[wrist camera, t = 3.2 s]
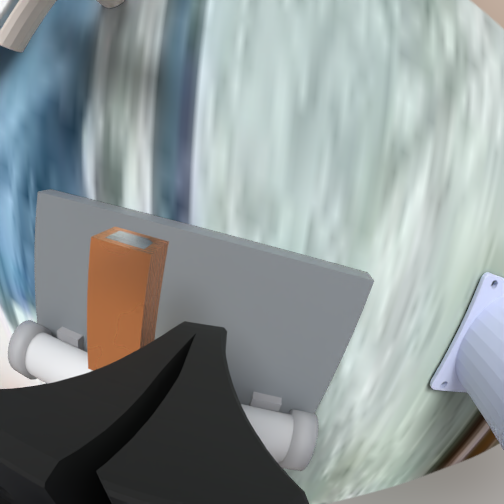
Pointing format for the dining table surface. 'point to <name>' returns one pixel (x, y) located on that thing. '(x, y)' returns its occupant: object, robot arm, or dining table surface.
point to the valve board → (204, 312)
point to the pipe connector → (30, 21)
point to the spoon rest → (6, 10)
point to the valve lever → (122, 293)
